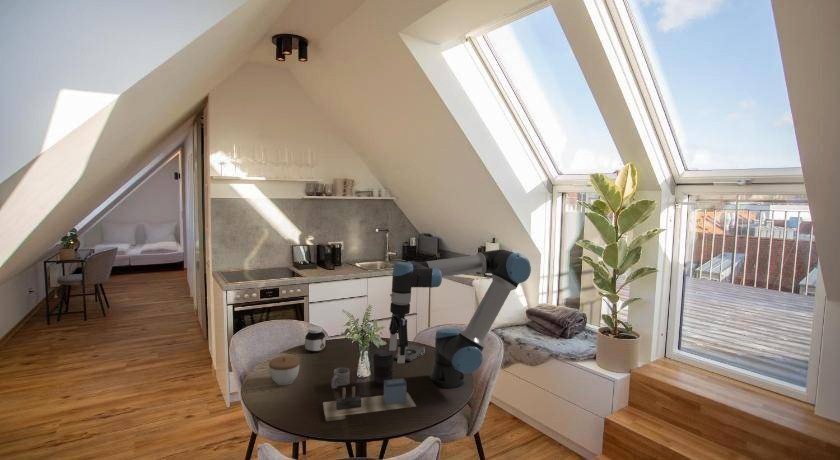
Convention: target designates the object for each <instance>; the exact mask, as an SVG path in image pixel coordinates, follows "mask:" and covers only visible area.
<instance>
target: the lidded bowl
mask: <svg viewBox="0 0 840 460" xmlns="http://www.w3.org/2000/svg"><path fill="white" fill-rule="evenodd" d="M300 361H301V360H300V359H299V357H296V356H292V355H283V356H278V357H275V358H272V359H270V360H269V362H268V366H269V367H268V368H269V375H270V378H271V379H272V381H274V382H275V384H276V385H278V386H287V385H290V384H292V383H294V381H295V380H296V379H297V377H298V376H299V371H300V364H301V363H300Z"/></svg>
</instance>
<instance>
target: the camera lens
mask: <svg viewBox="0 0 840 460" xmlns="http://www.w3.org/2000/svg"><path fill="white" fill-rule="evenodd" d="M393 364H394V354H393V352H392V351H389V349H380V350H379V349H378V350H376V351H375V352H374V354H373V366H374V367H373V382H374V383H373V384H374V386H376V387H380V388H384V380H391V379H393V372H394V367H393Z"/></svg>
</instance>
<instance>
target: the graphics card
mask: <svg viewBox="0 0 840 460" xmlns="http://www.w3.org/2000/svg"><path fill="white" fill-rule="evenodd" d="M425 352H426V347H425V346H420V345H412V344H409V343H408V346H407V347H406V352H405V361H407V362H408V361H409V362H412V361H414V360H415V359H416V358H418V357H419V355H422V356H423V355H424V354H425ZM423 353H424V354H423ZM417 356H418V357H417ZM394 358H395V359H397V358H398V353H396V354H395V356H394ZM413 359H414V360H413Z"/></svg>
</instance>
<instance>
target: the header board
mask: <svg viewBox="0 0 840 460" xmlns="http://www.w3.org/2000/svg"><path fill="white" fill-rule="evenodd" d="M346 392H347V391H346V387H342V397H340V398H336V399H335V400H330V401H323V402H322V409H323V415H324V419H325V421H326V422H333V421H340V420H347V417H346V416H351V415H358V414H366V413H367V414H368V413H374V412H375V413H376V412H384V411H390V410H397V409H398V410H399V409H407V408H413V407H414V408H415V407H417V405H416V403H415V402H414V400H413V398H412V397H411V395H410V394H409V392H406V403H399V404H391V405H386V404H385V402H384V394H383V395H375V396H365V397H361V395H357V396H356V386H351V396H349V397H346V395H347V393H346Z"/></svg>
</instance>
